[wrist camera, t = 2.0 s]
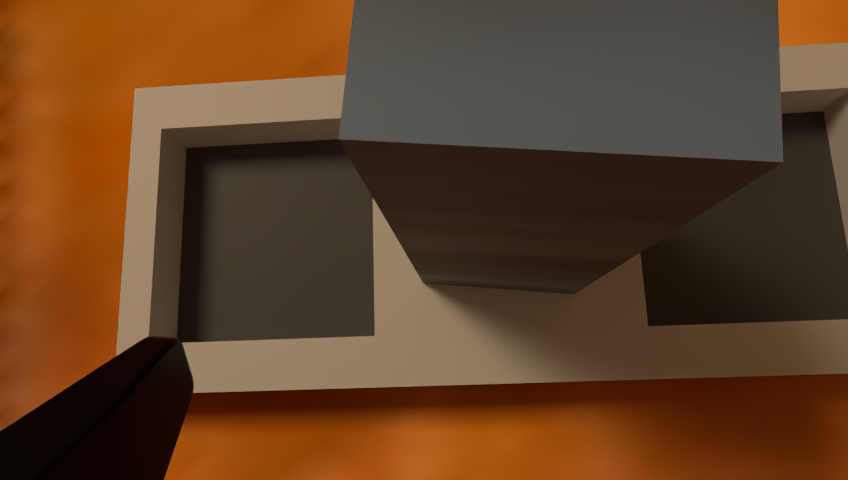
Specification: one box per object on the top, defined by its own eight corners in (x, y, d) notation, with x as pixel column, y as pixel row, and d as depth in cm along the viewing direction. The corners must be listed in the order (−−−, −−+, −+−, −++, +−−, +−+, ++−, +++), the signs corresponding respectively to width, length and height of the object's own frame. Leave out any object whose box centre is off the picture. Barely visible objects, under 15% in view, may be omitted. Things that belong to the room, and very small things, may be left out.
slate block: (574, 294, 18) (783, 162, 6) (423, 283, 18) (338, 138, 6) (579, 149, 19) (770, -215, 7) (434, 142, 19) (379, -215, 7)
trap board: (1061, 57, 20) (1143, 15, 18) (1142, 362, 18) (1248, 362, 16) (164, 112, 22) (126, 81, 20) (147, 391, 20) (103, 396, 18)
